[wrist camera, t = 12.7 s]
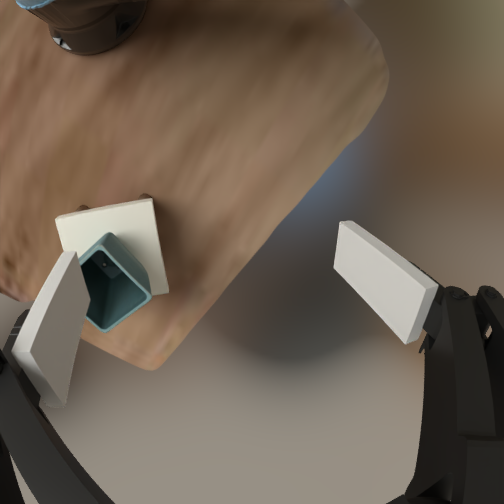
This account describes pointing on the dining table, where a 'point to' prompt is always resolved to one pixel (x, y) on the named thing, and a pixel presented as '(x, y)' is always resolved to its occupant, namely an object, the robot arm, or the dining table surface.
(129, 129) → the dining table surface
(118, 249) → the flower pot
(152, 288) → the footstool
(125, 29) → the robot arm
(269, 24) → the dining table surface
